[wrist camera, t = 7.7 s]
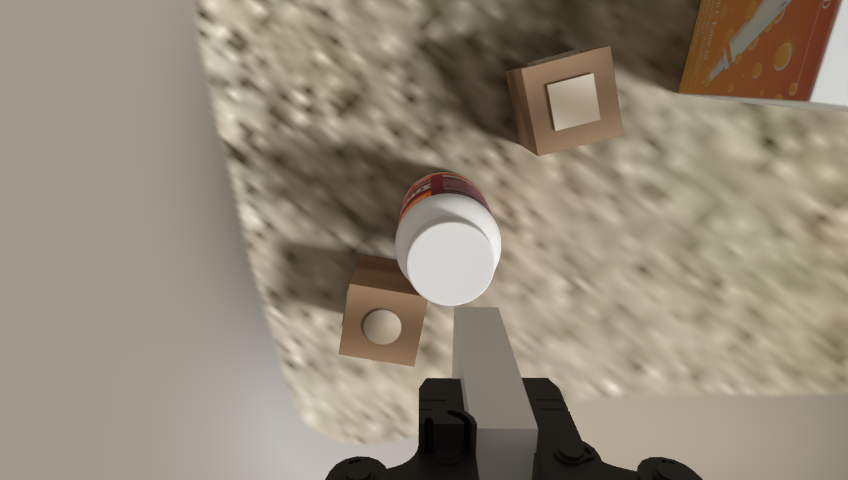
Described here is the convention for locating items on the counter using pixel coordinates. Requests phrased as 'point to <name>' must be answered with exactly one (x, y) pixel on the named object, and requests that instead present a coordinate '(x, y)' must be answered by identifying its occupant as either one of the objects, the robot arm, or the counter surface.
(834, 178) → the counter surface
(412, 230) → the pill bottle
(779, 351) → the counter surface
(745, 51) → the small box
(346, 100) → the counter surface
